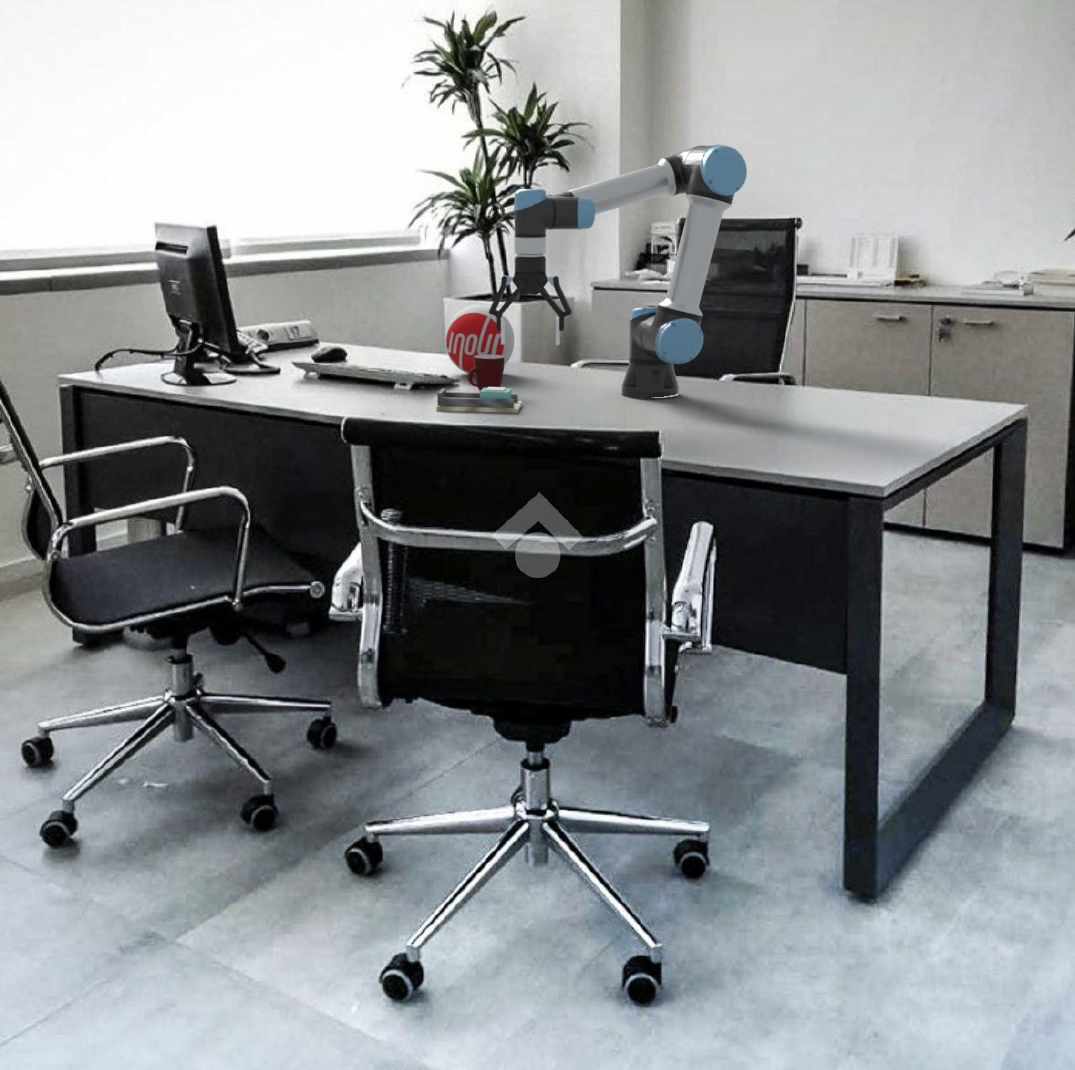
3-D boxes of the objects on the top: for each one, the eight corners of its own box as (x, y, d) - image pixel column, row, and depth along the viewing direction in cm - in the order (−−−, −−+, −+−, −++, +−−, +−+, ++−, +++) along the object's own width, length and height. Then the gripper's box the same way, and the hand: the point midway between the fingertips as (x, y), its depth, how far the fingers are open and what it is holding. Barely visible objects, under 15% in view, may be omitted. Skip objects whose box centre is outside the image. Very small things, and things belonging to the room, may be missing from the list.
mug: (481, 399, 340) (481, 360, 337) (460, 395, 345) (460, 357, 343) (510, 394, 348) (510, 356, 345) (489, 390, 353) (489, 353, 350)
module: (511, 402, 330) (511, 386, 329) (507, 406, 324) (508, 390, 323) (483, 401, 331) (483, 385, 330) (479, 405, 325) (479, 389, 324)
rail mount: (521, 405, 333) (522, 389, 332) (517, 412, 322) (517, 396, 321) (443, 402, 334) (443, 387, 333) (436, 410, 324) (436, 394, 323)
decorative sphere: (436, 378, 371) (435, 307, 366) (456, 368, 390) (455, 300, 385) (504, 382, 367) (505, 309, 362) (521, 371, 386) (521, 302, 380)
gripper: (582, 254, 319) (582, 342, 325) (481, 253, 322) (482, 341, 328) (580, 256, 312) (579, 346, 318) (476, 256, 315) (478, 345, 321)
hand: (530, 344), depth 323 cm, fingers open, 13 cm apart
